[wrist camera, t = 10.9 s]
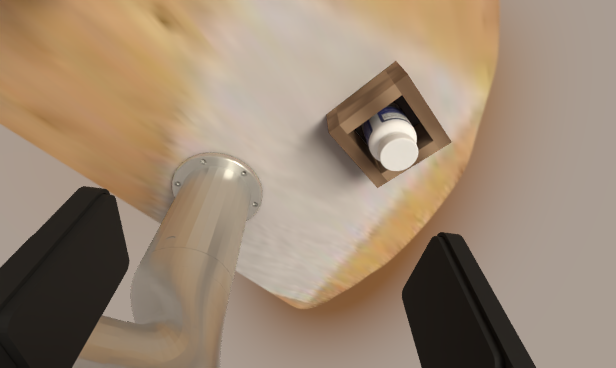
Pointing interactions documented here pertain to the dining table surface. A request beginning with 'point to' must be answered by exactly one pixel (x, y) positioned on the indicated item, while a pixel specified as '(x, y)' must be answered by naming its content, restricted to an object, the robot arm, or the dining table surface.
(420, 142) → the well
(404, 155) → the pill bottle
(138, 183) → the dining table surface
